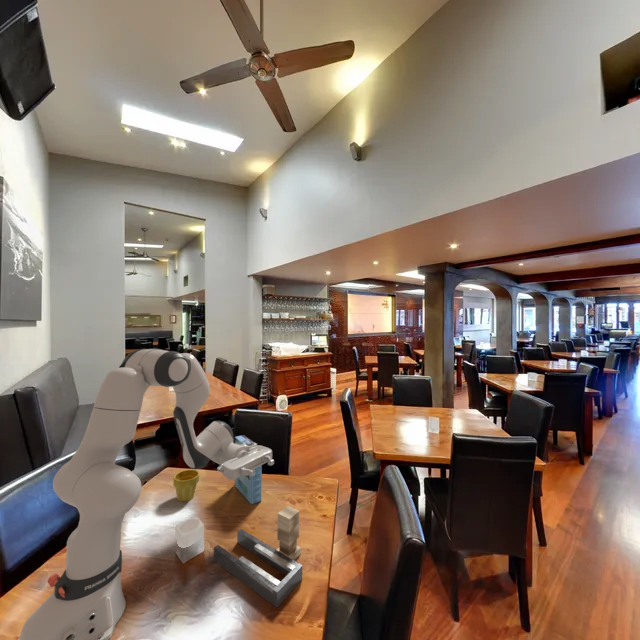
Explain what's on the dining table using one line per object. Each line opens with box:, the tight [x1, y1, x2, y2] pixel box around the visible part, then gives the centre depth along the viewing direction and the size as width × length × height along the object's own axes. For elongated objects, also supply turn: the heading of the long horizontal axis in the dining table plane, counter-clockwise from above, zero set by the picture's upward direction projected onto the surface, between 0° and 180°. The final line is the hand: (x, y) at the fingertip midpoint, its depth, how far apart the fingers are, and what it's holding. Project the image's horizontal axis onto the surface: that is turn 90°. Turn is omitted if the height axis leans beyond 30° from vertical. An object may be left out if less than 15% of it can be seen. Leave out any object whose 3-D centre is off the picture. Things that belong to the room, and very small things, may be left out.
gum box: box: [234, 434, 263, 505], centre depth 133 cm, size 20×5×23 cm, turn 37°
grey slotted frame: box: [213, 528, 303, 608], centre depth 91 cm, size 11×28×4 cm, turn 56°
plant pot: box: [173, 468, 200, 502], centre depth 128 cm, size 10×10×10 cm
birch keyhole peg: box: [276, 505, 302, 561], centre depth 97 cm, size 6×6×14 cm
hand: (263, 468), depth 104 cm, fingers open, 8 cm apart
